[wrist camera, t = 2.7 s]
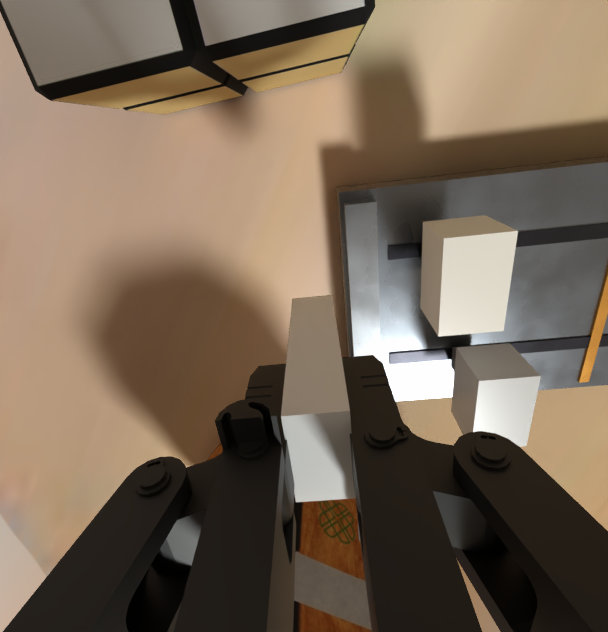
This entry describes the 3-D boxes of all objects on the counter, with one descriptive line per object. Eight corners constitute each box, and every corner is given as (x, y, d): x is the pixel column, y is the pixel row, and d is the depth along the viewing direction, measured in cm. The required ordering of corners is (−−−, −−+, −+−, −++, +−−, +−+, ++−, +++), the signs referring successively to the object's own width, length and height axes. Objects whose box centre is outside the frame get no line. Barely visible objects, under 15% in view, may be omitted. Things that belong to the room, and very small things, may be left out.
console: (336, 187, 21) (339, 195, 18) (710, 144, 20) (773, 146, 17) (350, 386, 27) (354, 414, 25) (636, 363, 26) (674, 390, 23)
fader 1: (410, 211, 19) (443, 238, 14) (465, 205, 19) (517, 230, 14) (409, 289, 21) (438, 336, 16) (459, 285, 21) (503, 330, 16)
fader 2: (442, 326, 22) (478, 380, 17) (490, 322, 22) (540, 376, 17) (438, 386, 24) (470, 449, 19) (482, 382, 24) (526, 446, 19)
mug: (199, 513, 34) (127, 764, 20) (213, 398, 28) (123, 645, 15) (406, 543, 35) (465, 796, 22) (460, 439, 29) (587, 699, 16)
